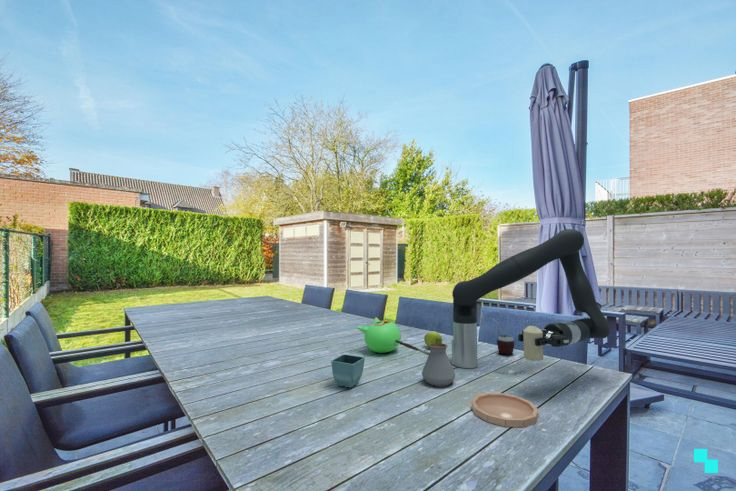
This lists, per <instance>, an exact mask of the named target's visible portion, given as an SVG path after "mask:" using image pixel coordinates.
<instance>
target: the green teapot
mask: <svg viewBox="0 0 736 491" xmlns="http://www.w3.org/2000/svg"><path fill="white" fill-rule="evenodd" d="M356 329H357V330H359V331H360V332H362V333H364V342H365V345H366V346H367V348H368V349H369V350H371V351H372V352H375V353H379V354H385V353H390V352H391V351H392V352H393V351H394V350H396V348H397V347H399V345H400V343H397V342H396V344H395V343H394V341H395V340H398V341H400V342H401V341H402V340H401V339H402V333H401V330H400V328H399V326H397V324H395V323H394V322H391V321H389V320H387V319H386V320H380V319H379V318H378V317H374V319H373V323H371V324H370V325H369V326H368V325H367V326H366V325H358V326H357V327H356Z"/></svg>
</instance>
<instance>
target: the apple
mask: <svg viewBox="0 0 736 491" xmlns="http://www.w3.org/2000/svg"><path fill="white" fill-rule="evenodd" d="M423 339H424V340H423V341H424V342H425V343H424V344H426V346H427V347H429V344H431V343H443V338H442V336H441V334H440V333H439V332H438V331H435V330H433V331H429V332H426V333H425V335H424V338H423ZM429 348H430V347H429Z"/></svg>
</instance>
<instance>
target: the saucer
mask: <svg viewBox="0 0 736 491" xmlns="http://www.w3.org/2000/svg"><path fill="white" fill-rule="evenodd" d="M470 403H471V410H472V411H473V413H474V415H475V416H476V417H478V418H480V419H481V420H483V421H485V422H487V423H489V422H490V424H493V425H497V426H501V427H504V428H526V427H529V426H532V425H535V424H536V423H537V422H538V418H539V409H538V408H537V407H536V405H535V404H534V403H533V402H531V401H529V400H527V399H524V398H522V397H520V396H519V395H518V396H517V395H512V394H507V393H501V392H486V393H481V394H477V395H475V396H474V398H472V399H471V402H470Z"/></svg>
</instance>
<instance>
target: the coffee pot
mask: <svg viewBox="0 0 736 491" xmlns="http://www.w3.org/2000/svg"><path fill="white" fill-rule="evenodd" d="M396 342H397V343H399V345H400V346H401V345H402V346H404V347H406V348H409V349H411V350H414V351H417V352H420V353H422V354H424V355H427V356H428V357H427V359H426V361H425V363H424V365H423V366H424V367H423V368H422V371H421V375H422V378H423V379H424V380H425V382H427V384H428V383H429V385H430V384H431V385H430V386H433V385H435V386H434V387H447V386H450V384H451V383H452V382H453V381H454V380H455V378H456V372H455V371H454V369H453V366H452V362H451V361H450V359H449V356H448V354H447V352H446V351H447V348H448V345H447V344H446V343H443V342H442V343H431V344H429V349H430V352H428V351H426V350H423V349H421V348H418V347H416V346H414V345H412V344H409V343H407V342H403V341H402V340H401V341H398V340H395V341H394V343H395V344H396Z"/></svg>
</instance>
